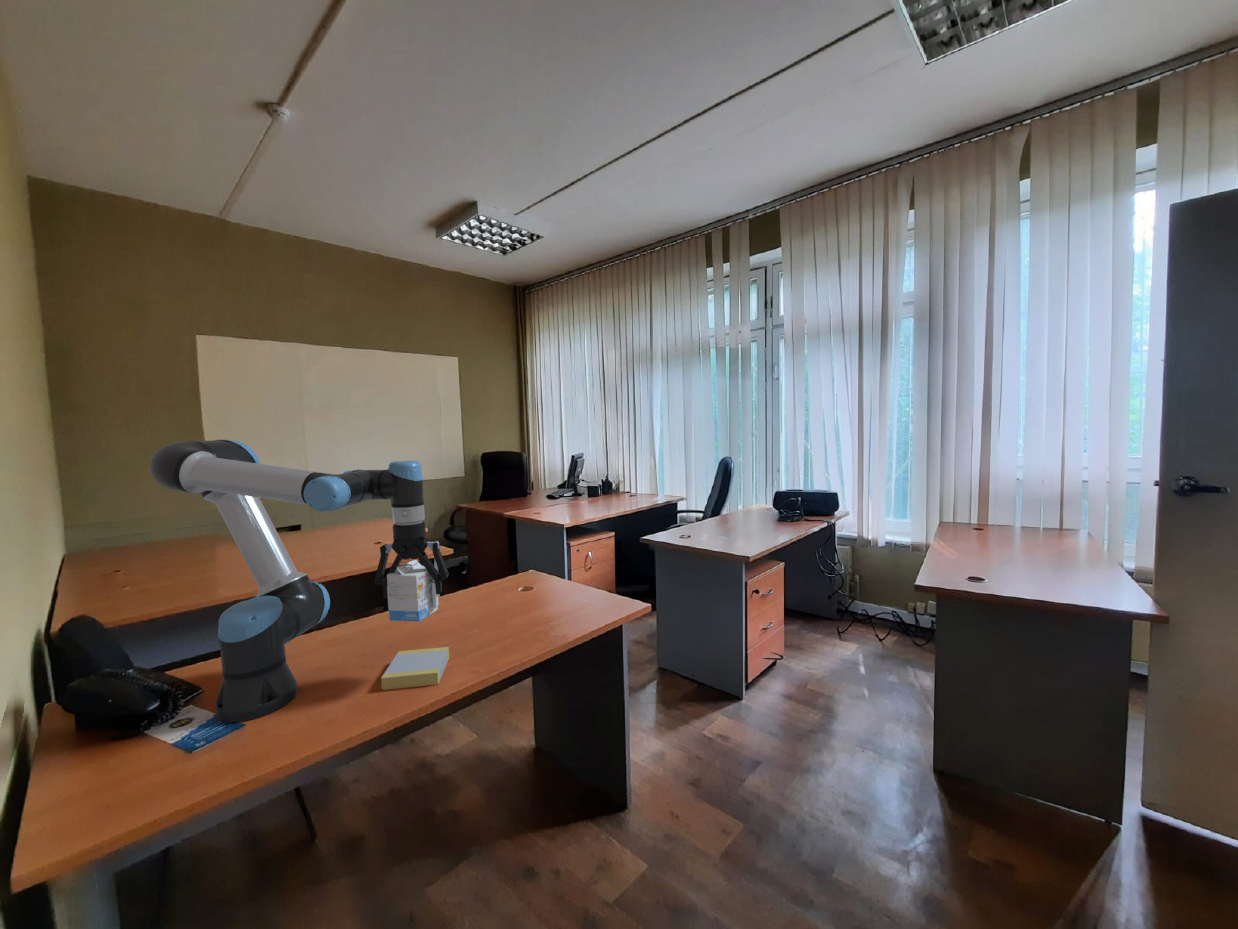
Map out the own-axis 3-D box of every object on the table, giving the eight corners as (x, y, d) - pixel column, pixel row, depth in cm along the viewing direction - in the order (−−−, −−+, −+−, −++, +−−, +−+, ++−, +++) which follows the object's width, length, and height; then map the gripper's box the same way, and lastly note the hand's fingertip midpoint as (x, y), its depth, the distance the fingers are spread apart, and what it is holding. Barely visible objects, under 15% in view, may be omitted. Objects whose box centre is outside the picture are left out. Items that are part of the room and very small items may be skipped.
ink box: (418, 622, 116) (415, 569, 115) (388, 620, 118) (385, 568, 117) (438, 609, 124) (436, 559, 123) (410, 607, 126) (407, 558, 125)
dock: (381, 690, 114) (381, 678, 114) (399, 662, 128) (398, 651, 128) (438, 684, 116) (437, 672, 116) (449, 657, 130) (448, 646, 130)
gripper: (355, 527, 114) (361, 617, 115) (452, 522, 117) (457, 610, 119) (366, 521, 121) (372, 606, 123) (458, 517, 125) (462, 599, 126)
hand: (414, 608), depth 121 cm, fingers closed on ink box, 10 cm apart
